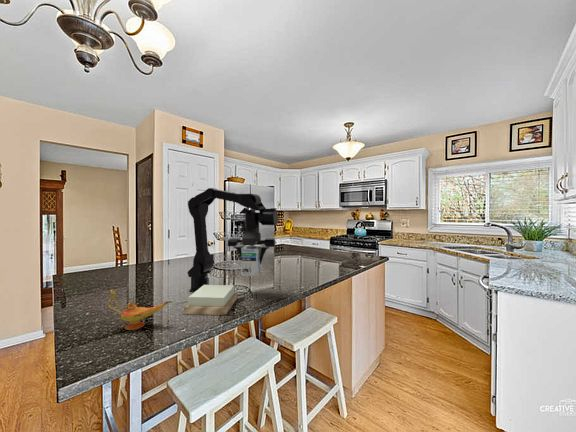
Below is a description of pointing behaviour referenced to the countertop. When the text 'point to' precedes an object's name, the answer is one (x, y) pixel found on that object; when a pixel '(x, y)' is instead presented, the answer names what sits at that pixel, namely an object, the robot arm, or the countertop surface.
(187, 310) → the oak base block
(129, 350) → the countertop surface
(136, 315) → the magic lamp
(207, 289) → the sage top block
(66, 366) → the countertop surface
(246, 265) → the light bulb box
